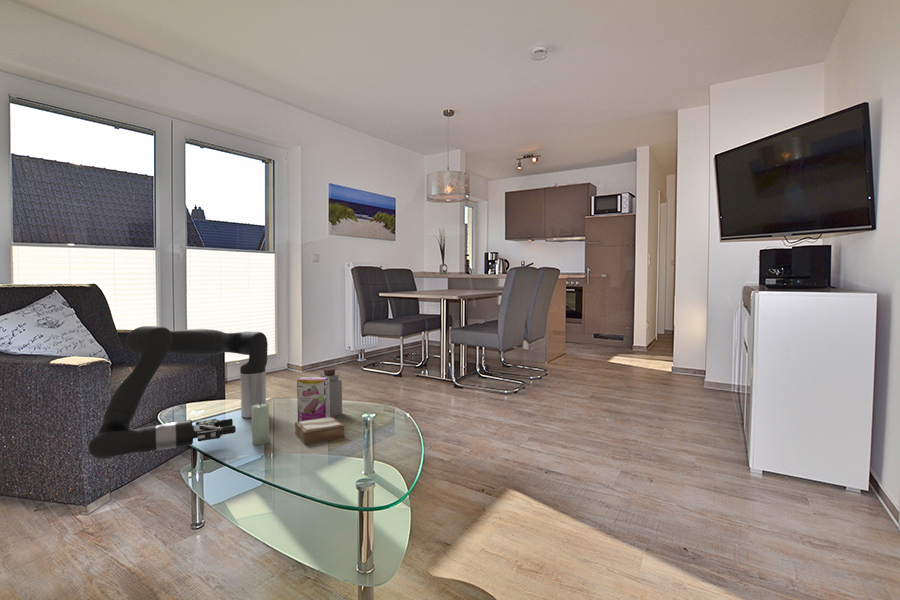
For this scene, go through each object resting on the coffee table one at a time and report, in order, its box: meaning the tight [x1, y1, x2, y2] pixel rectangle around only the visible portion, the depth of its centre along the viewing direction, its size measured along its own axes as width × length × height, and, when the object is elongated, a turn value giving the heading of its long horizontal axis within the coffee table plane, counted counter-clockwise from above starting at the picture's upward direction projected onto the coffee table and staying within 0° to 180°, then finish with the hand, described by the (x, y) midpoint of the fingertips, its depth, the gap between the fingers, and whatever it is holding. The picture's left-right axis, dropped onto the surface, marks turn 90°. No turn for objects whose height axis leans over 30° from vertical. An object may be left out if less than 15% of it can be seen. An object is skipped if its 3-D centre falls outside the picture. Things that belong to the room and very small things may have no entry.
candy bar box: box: [296, 376, 330, 422], centre depth 171 cm, size 11×5×16 cm, turn 84°
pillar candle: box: [251, 403, 270, 446], centre depth 148 cm, size 5×5×13 cm
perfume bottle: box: [319, 367, 343, 417], centre depth 180 cm, size 7×7×18 cm
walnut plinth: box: [294, 416, 345, 446], centre depth 154 cm, size 13×13×4 cm
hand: (233, 425), depth 144 cm, fingers open, 8 cm apart
